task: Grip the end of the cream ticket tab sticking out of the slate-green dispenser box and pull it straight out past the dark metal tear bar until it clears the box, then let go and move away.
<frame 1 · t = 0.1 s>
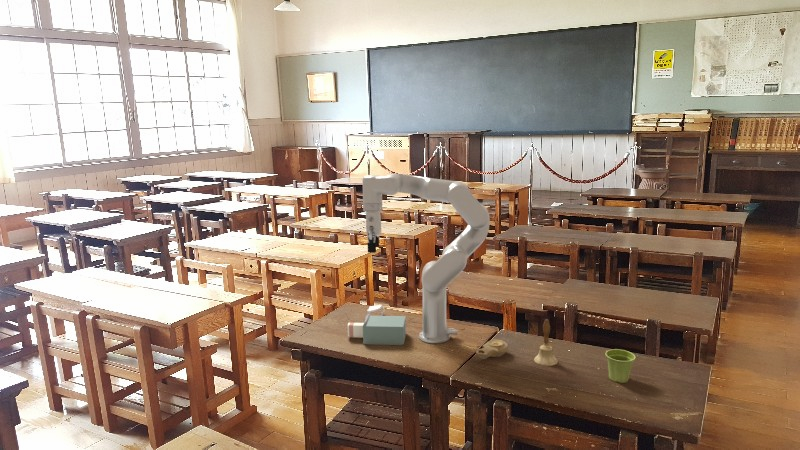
hand: (373, 249, 220), 37 cm above the table, tool pointing down, fingers open, 9 cm apart
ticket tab: (364, 330, 225), point 4 cm above the table, slide at 0.0 cm
plant pot: (618, 379, 187), on the table
oil lamp: (492, 357, 206), on the table
hand bell: (545, 361, 202), on the table
dispenser: (385, 338, 225), on the table
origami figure: (373, 318, 248), on the table
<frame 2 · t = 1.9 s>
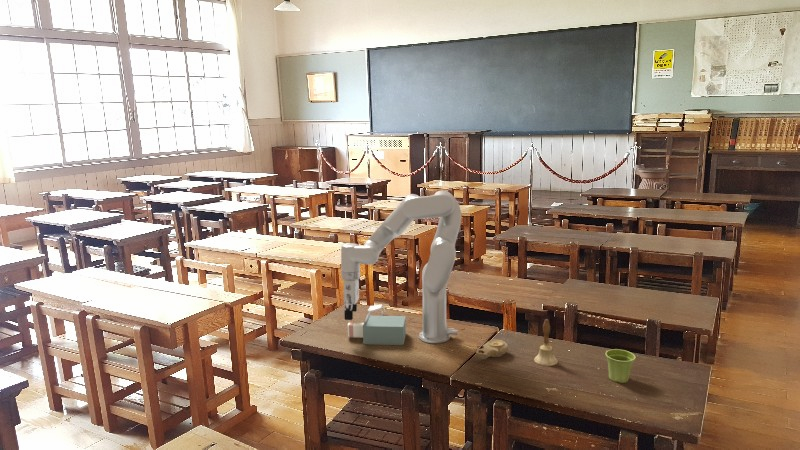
hand: (350, 315, 224), 10 cm above the table, tool pointing down, fingers open, 9 cm apart
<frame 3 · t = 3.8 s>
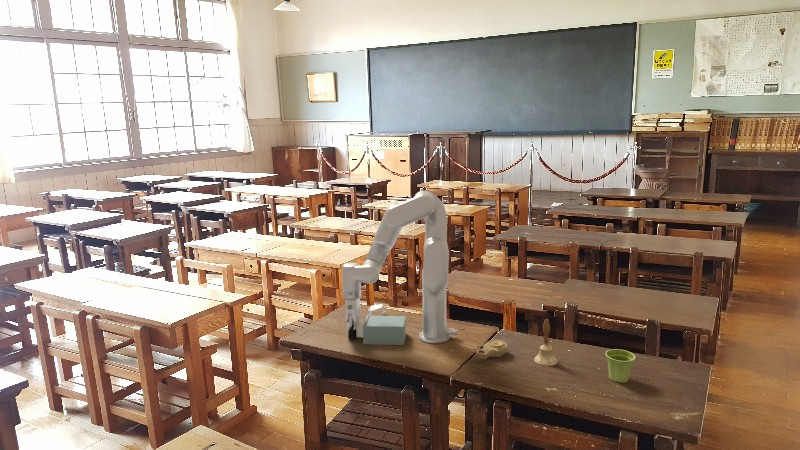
hand: (353, 336, 225), 1 cm above the table, tool pointing down, fingers closed on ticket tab, 3 cm apart
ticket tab: (364, 330, 225), point 4 cm above the table, slide at 0.0 cm, touching gripper
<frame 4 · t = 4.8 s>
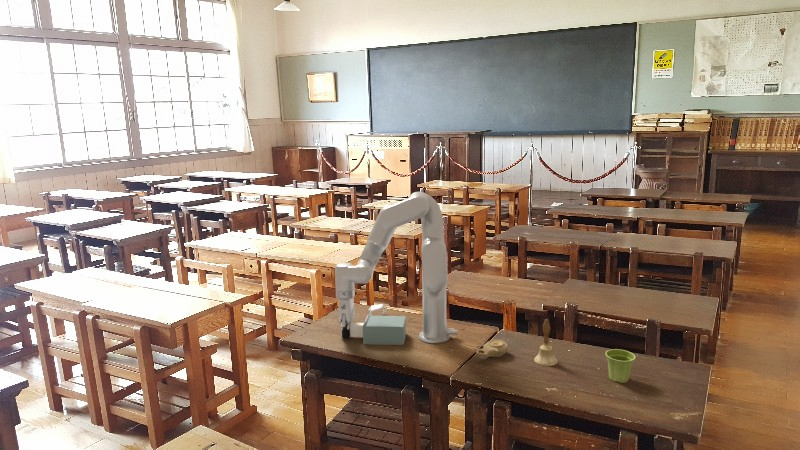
hand: (346, 336, 226), 1 cm above the table, tool pointing down, fingers closed on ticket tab, 3 cm apart
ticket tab: (357, 329, 225), point 3 cm above the table, slide at 2.6 cm, touching gripper
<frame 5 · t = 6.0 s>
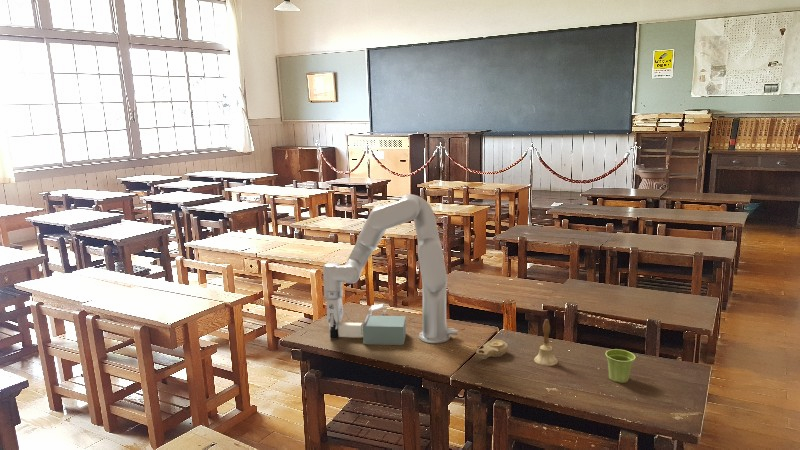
hand: (335, 336, 226), 1 cm above the table, tool pointing down, fingers closed on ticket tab, 3 cm apart
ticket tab: (345, 329, 225), point 3 cm above the table, slide at 7.4 cm, touching gripper
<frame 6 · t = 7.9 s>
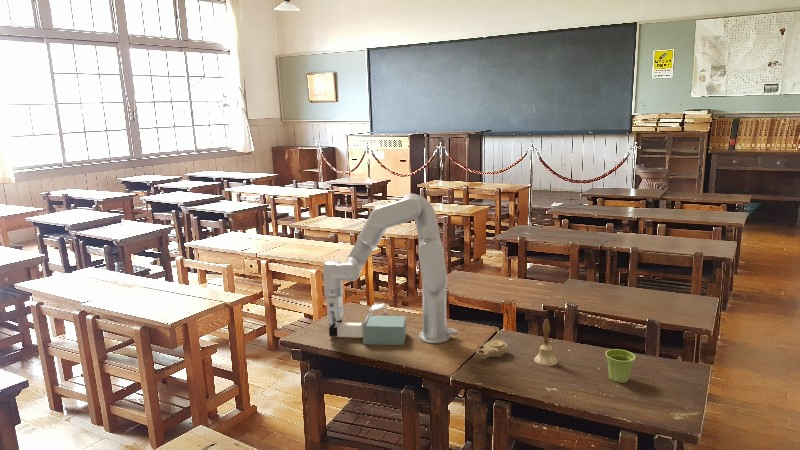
hand: (335, 331, 226), 3 cm above the table, tool pointing down, fingers open, 9 cm apart
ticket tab: (345, 329, 225), point 3 cm above the table, slide at 7.5 cm
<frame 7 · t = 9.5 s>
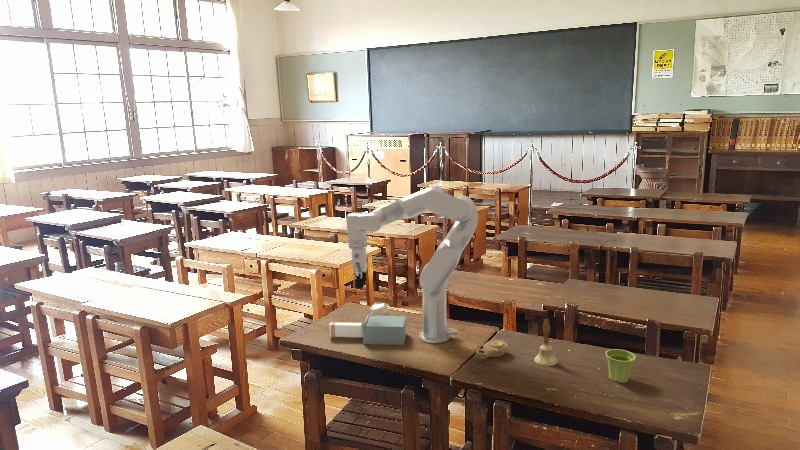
hand: (361, 284, 226), 21 cm above the table, tool pointing down, fingers open, 9 cm apart
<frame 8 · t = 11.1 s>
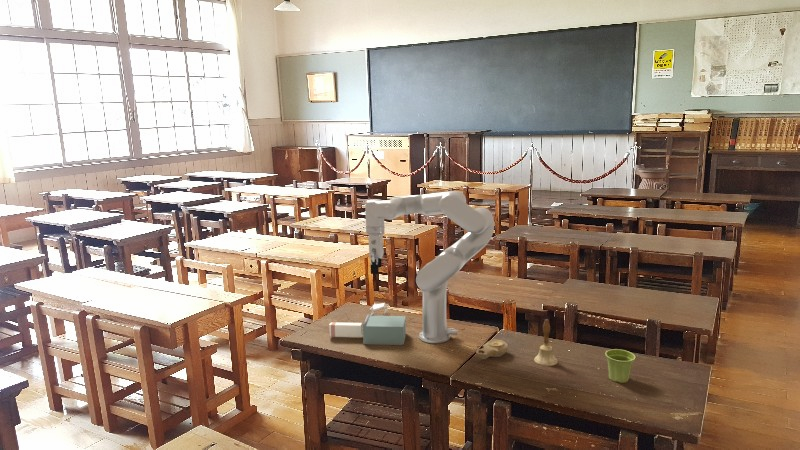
hand: (376, 270, 228), 26 cm above the table, tool pointing down, fingers open, 9 cm apart
at the end: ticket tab slide at 7.5 cm; the gripper is holding nothing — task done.
